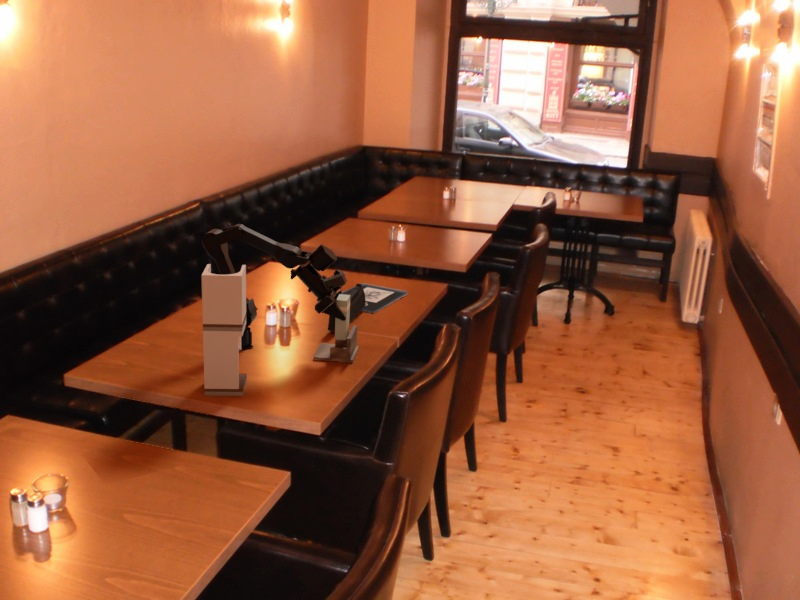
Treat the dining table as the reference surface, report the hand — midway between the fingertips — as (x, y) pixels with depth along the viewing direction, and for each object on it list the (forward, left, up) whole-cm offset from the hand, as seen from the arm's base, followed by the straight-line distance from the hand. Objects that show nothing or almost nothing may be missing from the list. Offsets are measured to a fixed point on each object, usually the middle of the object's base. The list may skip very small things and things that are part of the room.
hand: (346, 316), depth 269 cm
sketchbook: (+40, +47, -14) cm, 63 cm away
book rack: (-2, +2, -13) cm, 13 cm away
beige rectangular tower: (-44, -5, -13) cm, 46 cm away
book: (-1, +1, -7) cm, 7 cm away
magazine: (+19, +28, -13) cm, 36 cm away
